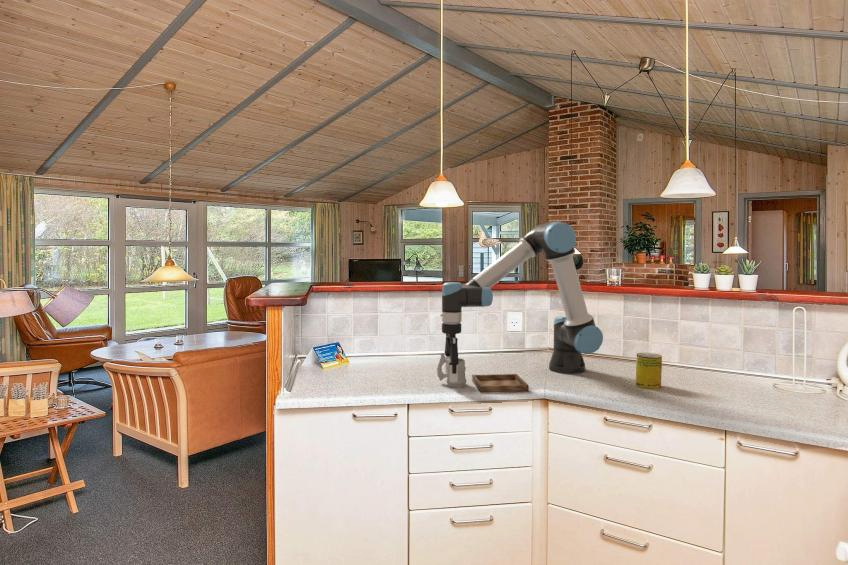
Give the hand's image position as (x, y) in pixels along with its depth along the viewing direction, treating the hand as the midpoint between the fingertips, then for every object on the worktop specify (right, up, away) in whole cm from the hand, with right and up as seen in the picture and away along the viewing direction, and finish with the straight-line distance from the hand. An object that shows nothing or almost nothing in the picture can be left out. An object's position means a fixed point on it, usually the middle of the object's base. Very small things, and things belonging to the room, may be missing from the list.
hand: (451, 377), depth 214 cm
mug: (0, -3, 0) cm, 3 cm away
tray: (+18, -3, -2) cm, 19 cm away
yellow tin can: (+76, -3, -2) cm, 76 cm away
